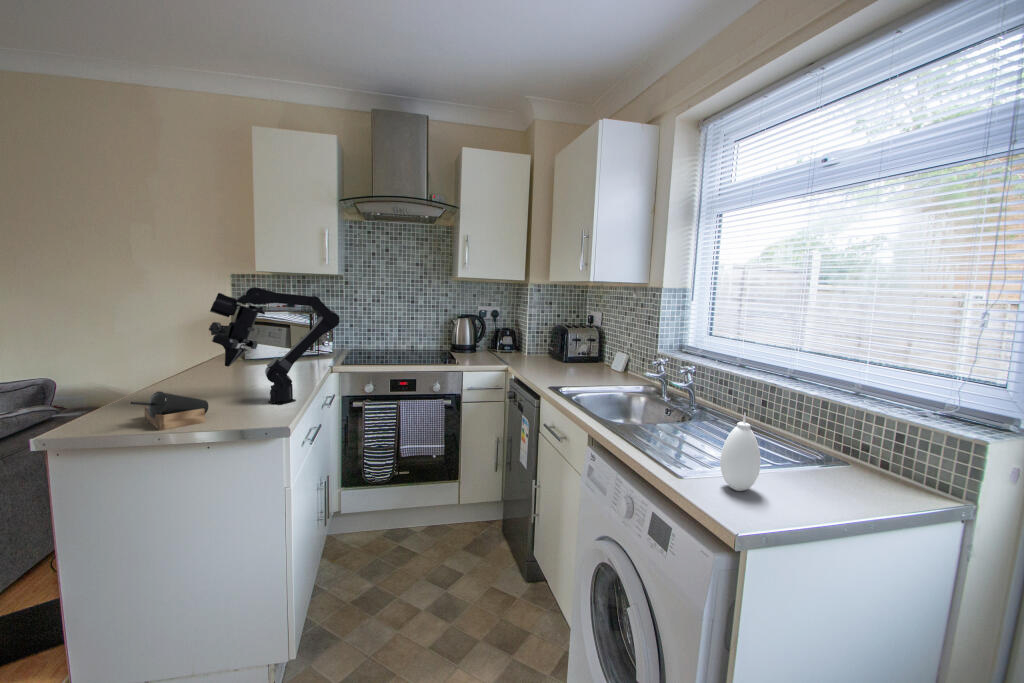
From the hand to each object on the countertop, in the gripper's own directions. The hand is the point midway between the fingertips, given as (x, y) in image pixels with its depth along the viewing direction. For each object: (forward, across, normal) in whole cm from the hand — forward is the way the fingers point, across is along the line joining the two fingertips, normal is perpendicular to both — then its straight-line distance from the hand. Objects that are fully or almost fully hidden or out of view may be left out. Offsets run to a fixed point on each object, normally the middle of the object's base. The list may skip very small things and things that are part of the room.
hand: (226, 366), depth 149 cm
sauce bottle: (-20, +65, +140) cm, 156 cm away
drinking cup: (+13, +7, +1) cm, 15 cm away
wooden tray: (+18, +12, -2) cm, 22 cm away
